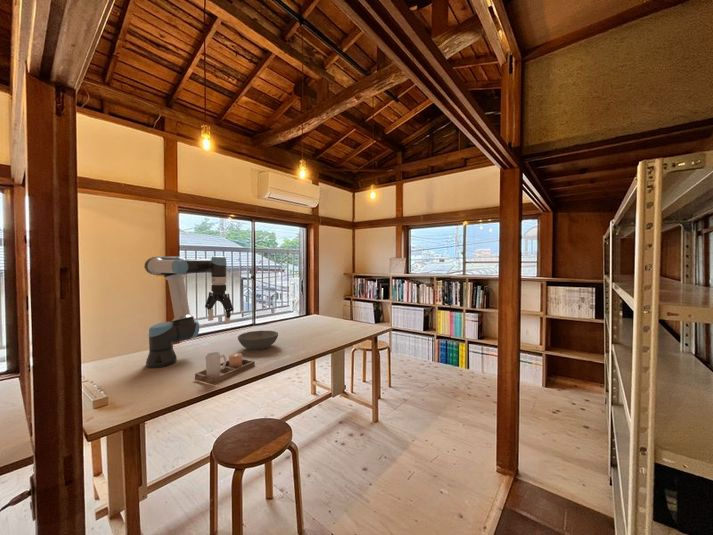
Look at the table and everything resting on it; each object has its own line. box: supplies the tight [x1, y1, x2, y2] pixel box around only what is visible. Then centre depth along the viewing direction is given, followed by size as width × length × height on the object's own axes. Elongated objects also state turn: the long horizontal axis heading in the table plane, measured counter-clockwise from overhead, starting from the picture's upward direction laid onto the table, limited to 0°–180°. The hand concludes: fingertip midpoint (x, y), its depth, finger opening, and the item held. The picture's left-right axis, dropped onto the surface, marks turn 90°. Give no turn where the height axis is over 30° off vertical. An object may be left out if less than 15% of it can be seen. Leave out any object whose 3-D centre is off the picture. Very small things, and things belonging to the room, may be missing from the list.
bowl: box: [237, 330, 279, 351], centre depth 201 cm, size 26×26×10 cm
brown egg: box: [228, 352, 243, 369], centre depth 165 cm, size 7×7×7 cm
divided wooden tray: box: [194, 358, 256, 386], centre depth 159 cm, size 15×26×3 cm, turn 155°
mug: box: [205, 351, 227, 378], centre depth 153 cm, size 10×7×12 cm, turn 135°
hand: (218, 322), depth 164 cm, fingers open, 13 cm apart
